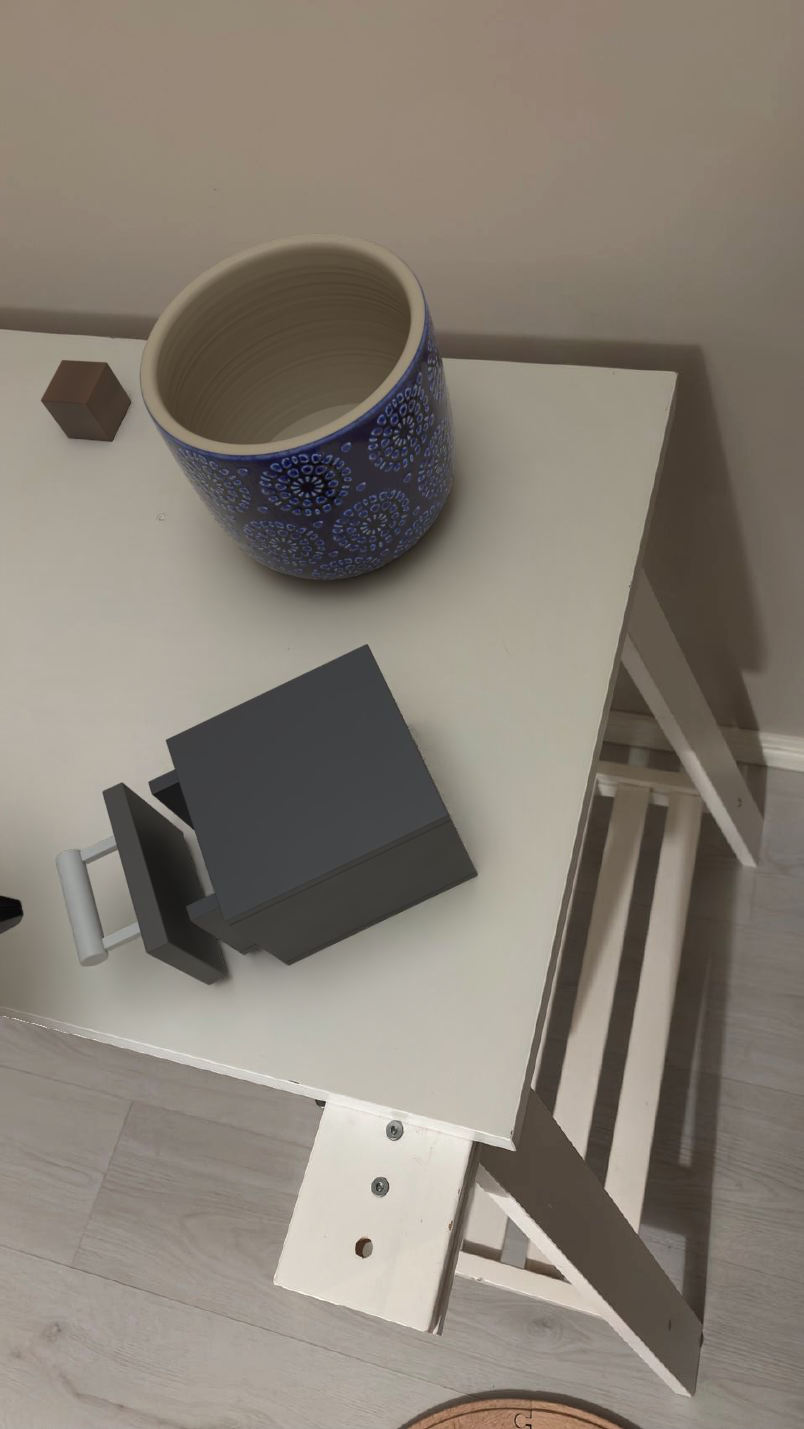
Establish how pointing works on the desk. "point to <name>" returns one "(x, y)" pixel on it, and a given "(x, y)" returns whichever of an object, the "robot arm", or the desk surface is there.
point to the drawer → (150, 888)
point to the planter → (307, 403)
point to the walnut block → (86, 400)
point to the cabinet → (316, 810)
